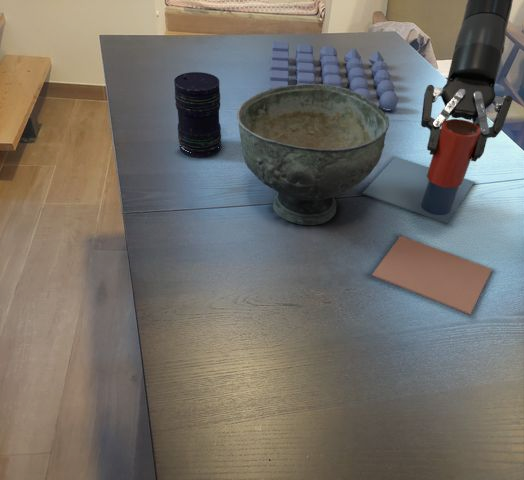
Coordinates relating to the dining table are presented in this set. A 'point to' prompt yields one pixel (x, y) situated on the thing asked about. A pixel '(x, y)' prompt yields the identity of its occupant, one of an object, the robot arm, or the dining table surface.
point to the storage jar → (198, 114)
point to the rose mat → (433, 274)
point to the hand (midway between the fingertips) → (453, 156)
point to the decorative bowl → (310, 145)
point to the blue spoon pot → (438, 199)
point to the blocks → (333, 71)
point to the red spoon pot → (453, 153)
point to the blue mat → (410, 188)
